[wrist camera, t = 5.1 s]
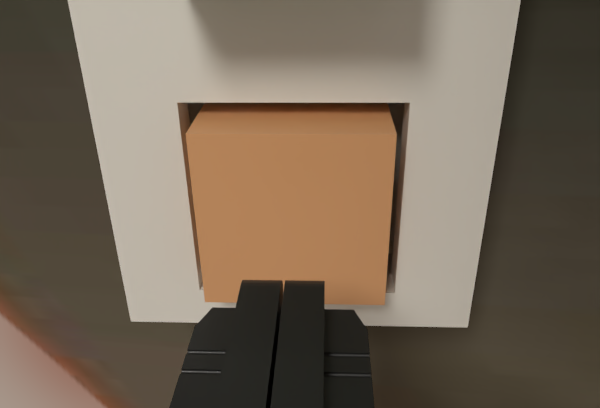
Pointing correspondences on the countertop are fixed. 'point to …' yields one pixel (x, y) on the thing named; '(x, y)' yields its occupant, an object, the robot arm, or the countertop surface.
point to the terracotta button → (293, 196)
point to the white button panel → (299, 89)
